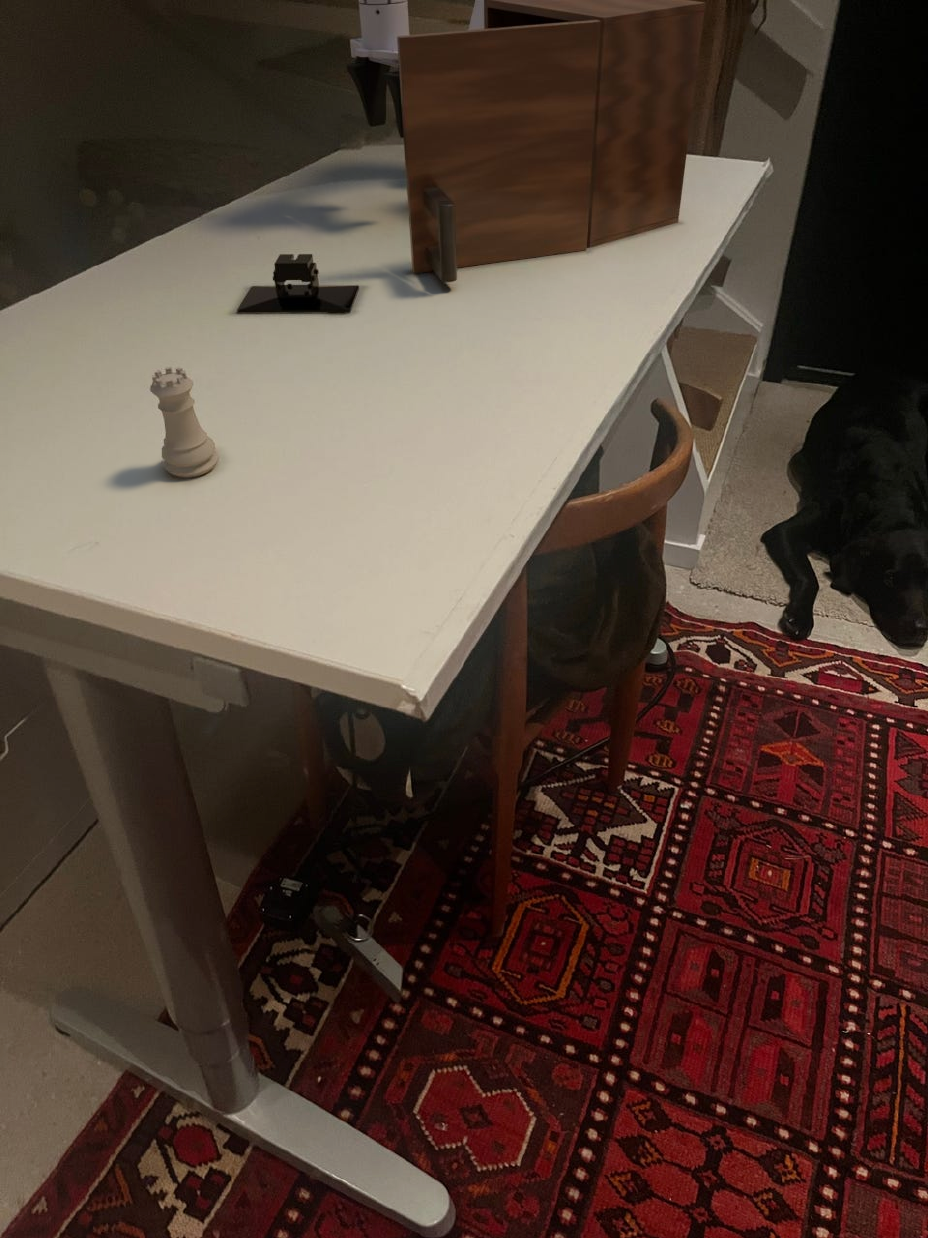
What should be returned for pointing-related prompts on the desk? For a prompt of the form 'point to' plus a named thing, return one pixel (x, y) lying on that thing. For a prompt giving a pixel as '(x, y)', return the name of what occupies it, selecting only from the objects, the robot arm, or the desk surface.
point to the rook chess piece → (182, 426)
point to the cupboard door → (498, 142)
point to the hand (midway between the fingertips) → (392, 130)
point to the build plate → (298, 291)
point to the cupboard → (630, 103)
